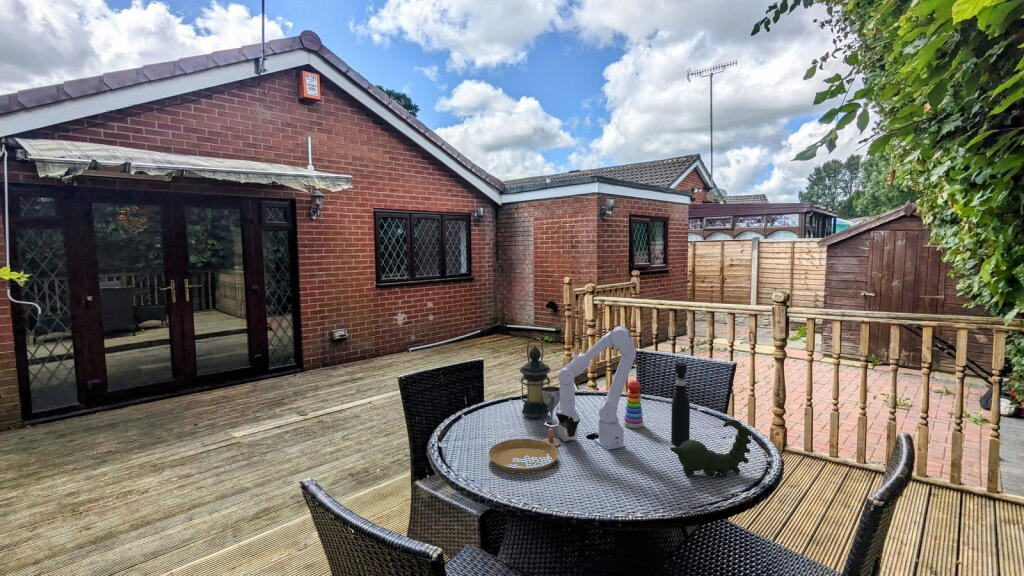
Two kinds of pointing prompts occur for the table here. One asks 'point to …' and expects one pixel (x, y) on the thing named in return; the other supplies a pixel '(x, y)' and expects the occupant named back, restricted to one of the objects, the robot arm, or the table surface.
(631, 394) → the stacking toy
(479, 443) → the table surface
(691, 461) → the toy figurine
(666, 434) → the table surface
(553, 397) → the wine glass
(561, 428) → the collar
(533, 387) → the lantern
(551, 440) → the post stand
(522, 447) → the plant saucer
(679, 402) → the wine bottle
